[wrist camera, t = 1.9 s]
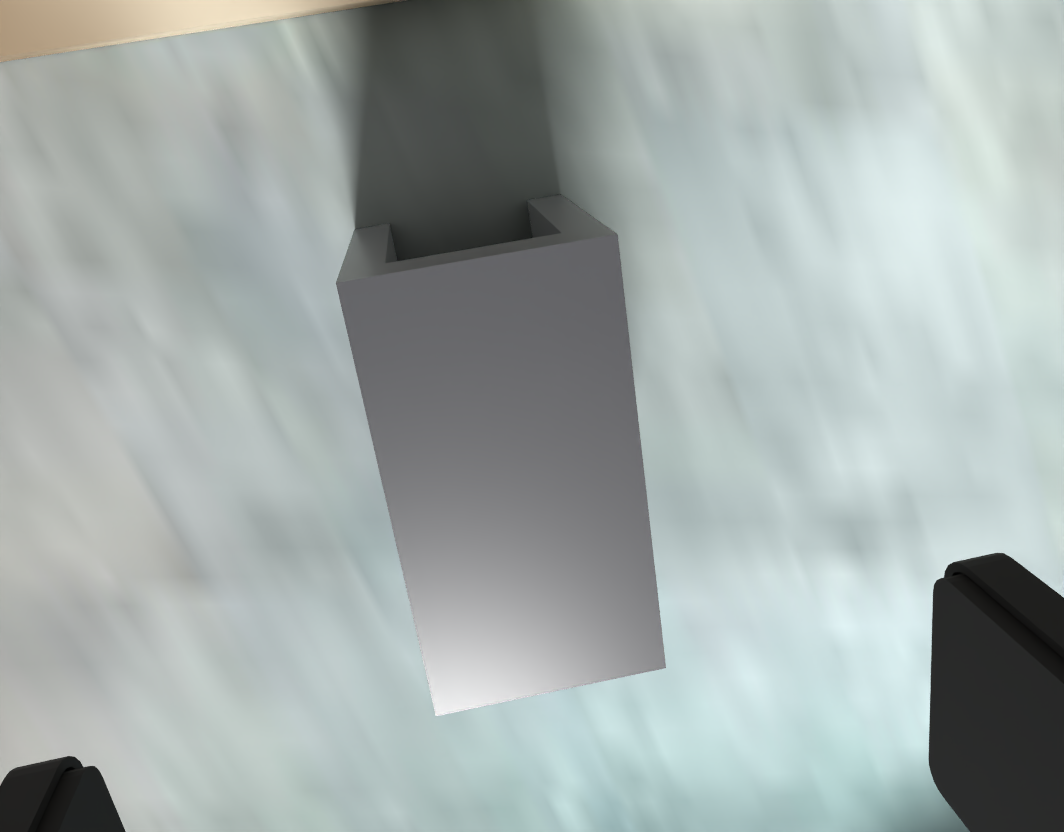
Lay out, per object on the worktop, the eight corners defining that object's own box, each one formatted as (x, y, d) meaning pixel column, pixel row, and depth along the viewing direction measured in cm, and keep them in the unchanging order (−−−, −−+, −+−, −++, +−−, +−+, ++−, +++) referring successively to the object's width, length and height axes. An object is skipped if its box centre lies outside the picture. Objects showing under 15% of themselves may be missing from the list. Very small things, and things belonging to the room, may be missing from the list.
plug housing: (560, 193, 21) (617, 234, 15) (605, 532, 24) (666, 667, 18) (355, 229, 20) (336, 283, 15) (428, 567, 24) (436, 716, 18)
